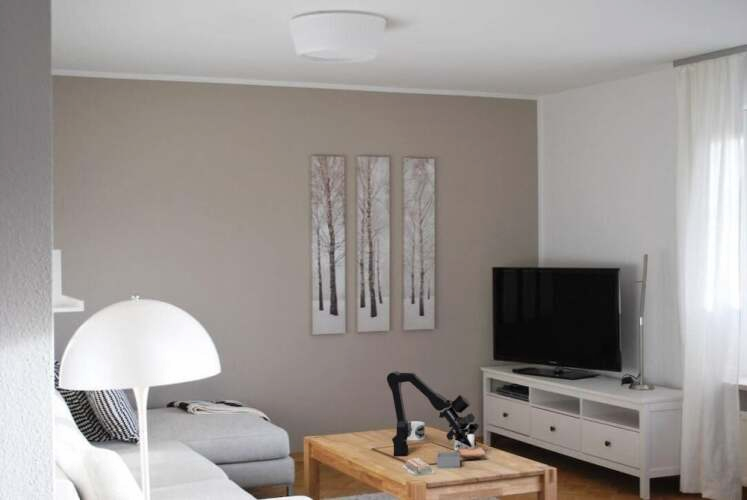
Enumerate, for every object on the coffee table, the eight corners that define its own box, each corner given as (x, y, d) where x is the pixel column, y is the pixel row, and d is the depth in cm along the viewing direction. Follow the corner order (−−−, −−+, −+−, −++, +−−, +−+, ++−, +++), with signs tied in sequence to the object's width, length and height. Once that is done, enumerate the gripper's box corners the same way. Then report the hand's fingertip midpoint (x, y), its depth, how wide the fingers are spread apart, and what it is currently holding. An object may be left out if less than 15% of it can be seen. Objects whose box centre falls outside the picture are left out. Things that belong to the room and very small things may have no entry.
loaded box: (437, 468, 439) (437, 457, 439) (437, 463, 449) (436, 452, 449) (459, 467, 438) (459, 456, 438) (459, 462, 448) (458, 451, 448)
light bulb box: (468, 451, 474) (467, 428, 474) (454, 450, 475) (453, 428, 475) (470, 446, 484) (469, 424, 484) (456, 446, 486) (456, 424, 486)
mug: (412, 436, 514) (411, 420, 514) (429, 438, 508) (428, 422, 508) (397, 440, 503) (397, 424, 503) (414, 442, 497) (414, 426, 497)
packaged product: (435, 464, 428) (413, 466, 425) (435, 475, 428) (413, 477, 425) (422, 455, 445) (401, 457, 443) (423, 466, 445) (401, 468, 443)
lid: (462, 457, 449) (461, 437, 449) (458, 452, 459) (457, 432, 459) (484, 456, 450) (484, 436, 450) (480, 451, 460) (479, 431, 460)
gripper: (450, 411, 450) (470, 438, 443) (475, 405, 464) (495, 431, 457) (437, 426, 456) (457, 453, 448) (462, 420, 469) (481, 446, 462)
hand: (473, 445), depth 454 cm, fingers closed on lid, 3 cm apart
